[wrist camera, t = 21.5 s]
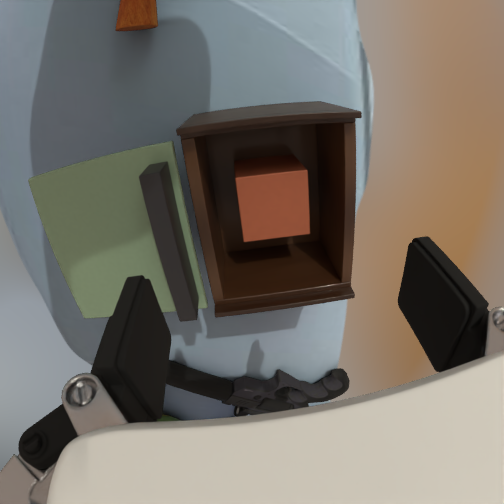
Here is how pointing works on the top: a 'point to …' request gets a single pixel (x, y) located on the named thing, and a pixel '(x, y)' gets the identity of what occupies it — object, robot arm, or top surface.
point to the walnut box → (285, 248)
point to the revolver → (258, 389)
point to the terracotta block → (272, 197)
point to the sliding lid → (122, 229)
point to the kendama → (136, 15)
